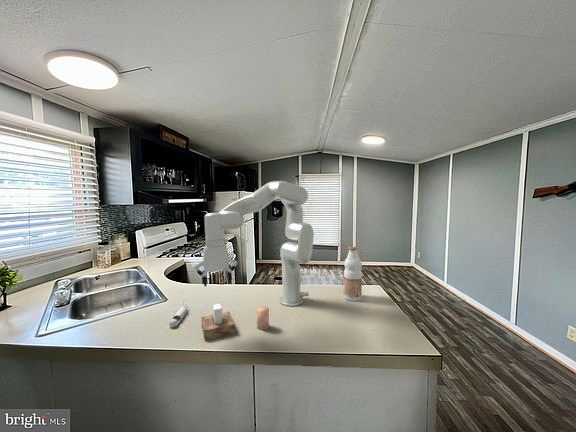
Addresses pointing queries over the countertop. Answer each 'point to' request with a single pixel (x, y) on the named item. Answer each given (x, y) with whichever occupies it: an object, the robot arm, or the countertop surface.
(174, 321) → the white long slotted part
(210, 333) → the slot block
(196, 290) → the countertop surface
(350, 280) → the fruit juice
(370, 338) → the countertop surface
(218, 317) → the flat bar peg
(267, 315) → the round peg
